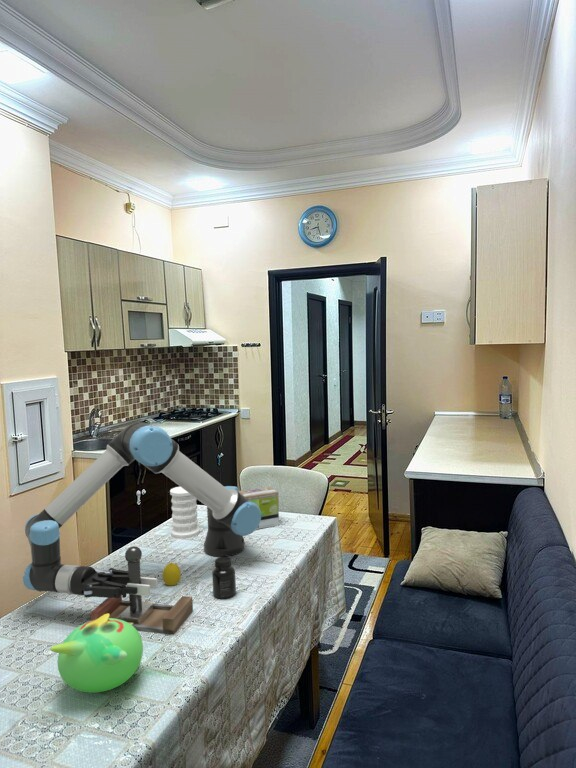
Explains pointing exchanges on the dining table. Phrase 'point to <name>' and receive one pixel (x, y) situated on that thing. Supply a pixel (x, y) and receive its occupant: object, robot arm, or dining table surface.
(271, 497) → the tea box
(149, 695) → the dining table surface
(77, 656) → the toy bird
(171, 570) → the lemon
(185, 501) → the decorative container
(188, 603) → the press base
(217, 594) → the supplement bottle
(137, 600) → the press handle
